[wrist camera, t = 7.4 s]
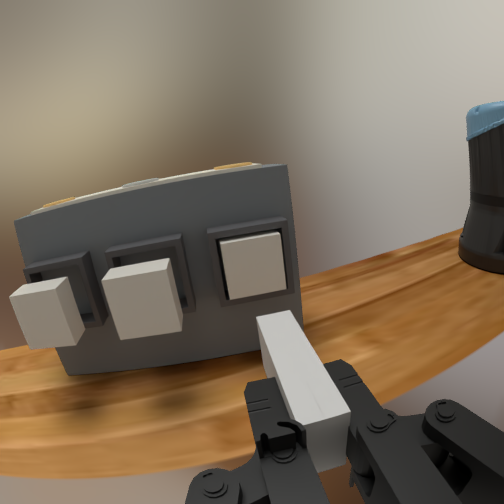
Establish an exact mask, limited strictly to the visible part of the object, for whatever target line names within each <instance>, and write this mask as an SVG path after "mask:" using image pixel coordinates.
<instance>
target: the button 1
mask: <svg viewBox="0 0 504 504" xmlns="http://www.w3.org/2000/svg"><path fill="white" fill-rule="evenodd" d="M9 298H10V301H11V303H12V306H13V309H14V312H15V314H16V317H17V319H18V322H19V324H20V327H21V329H22V331H23V334H24V336H25V338H26V341H27V343H28V345H29V348H30V349H42V348H53V347H64V346H74V345H77V343H78V341H79V339H80V338H81V336H82V334H83V332H84V331H85V327H84V324H83V322H82V319H81V316H80V313H79V310H78V307H77V305H76V302H75V299H74V296H73V292H72V289H71V286H70V283H69V280H68V277H62V278H57V279H52V280H47V281H41V282H36V283H31V284H26V285H23V286H21V287H20V288H19V289H18V290H17V291H15V292H14V293H13V294H12V295H11V296H10V297H9Z"/></svg>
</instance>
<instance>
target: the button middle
mask: <svg viewBox="0 0 504 504" xmlns="http://www.w3.org/2000/svg"><path fill="white" fill-rule="evenodd" d="M101 282H102V285H103V288H104V292H105V295H106V298H107V301H108V305H109V308H110V311H111V314H112V317H113V320H114V323H115V326H116V329H117V332H118V334H119V337H120V340H124V339H132V338H139V337H146V336H153V335H160V334H167V333H173V332H179V331H182V322H183V313H182V309H181V305H180V301H179V296H178V292H177V288H176V284H175V279H174V275H173V271H172V266H171V262H170V258H166V259H160V260H155V261H149V262H144V263H138V264H133V265H127V266H122V267H116V268H111V269H110V270H109V271H108V272H107V274H106V275H105V276H104V278H103V279H102V280H101Z"/></svg>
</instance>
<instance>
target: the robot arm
mask: <svg viewBox="0 0 504 504" xmlns="http://www.w3.org/2000/svg"><path fill="white" fill-rule="evenodd" d="M466 121H467V138H466V140H467V141H468V145H469V161H470V207H469V211H468V214H467V217H466V221H465V224H464V228H463V232H462V233H461V235H460V238H459V251H458V253H459V256H460V257H461V258H462V259H463V260H464V261H466V262H467V263H469V264H471V265H473V266H476V267H478V268H481V269H484V270H488V271H493V272H498V273H504V101H500V102H492V103H487V104H482V105H479V106H476V107H473V108H472V109H470V110H469V112H468V113H467V116H466ZM256 320H257V326H258V333H259V340H260V346H261V353H262V359H263V366H264V369H265V372H266V375H267V379H262V380H257V381H253V382H248V383H247V386H246V389H245V391H244V395H245V400H246V404H247V409H248V413H249V418H250V423H251V427H252V431H253V435H254V440H255V444H256V450H255V453H254V455H253V457H252V458H251V459H250V460H249V461H248V462H247V463H246V464H244V465H242V466H241V467H238V468H236V469H234V470H232V471H228V470H225V469H219V468H215V469H208V470H205V471H203V472H200V473H199V474H198V475H197V476H196V477H194V478H193V480H192V482H191V484H190V486H189V490H188V494H187V498H186V501H185V504H330V503H329V501H328V498H327V496H326V493H325V491H324V488H323V486H322V483H321V481H320V478H319V476H318V474H317V473H319V472H322V471H325V470H328V469H332V468H335V467H338V466H342V465H344V464H346V457H348V459H349V461H350V463H351V465H352V468H351V474H350V480H349V484H350V487H353V485H354V482H355V484H356V486H357V488H358V490H359V492H360V494H361V496H362V498H363V500H364V502H365V504H504V432H502V431H501V430H499V429H498V428H496V427H495V426H493V425H491V424H490V423H488V422H487V421H485V420H484V419H482V418H481V417H479V416H477V415H476V414H474V413H473V412H471V411H470V410H468V409H467V408H465V407H464V406H462V405H460V404H459V403H457V402H455V401H452V400H446V399H442V400H437V401H435V402H433V403H431V404H430V405H429V406H428V408H427V409H426V412H425V413H424V414H418V415H411V416H398V415H396V414H395V413H394V412H393V411H390V410H387V409H383V408H382V407H381V406H380V404H379V403H378V402H377V400H376V399H375V397H374V396H373V395H372V393H371V392H370V390H369V389H368V388H367V386H366V385H365V384H364V383H363V381H362V379H361V378H360V377H359V376H358V374H357V372H356V371H355V370H354V368H353V367H352V366H351V365H350V364H348V363H346V362H345V361H343V360H341V359H340V360H336V361H333V362H329V363H325V364H322V362H321V361H320V359H319V357H318V356H317V354H316V352H315V351H314V349H313V347H312V346H311V344H310V343H309V341H308V339H307V338H306V336H305V334H304V333H303V331H302V329H301V328H300V326H299V324H298V323H297V321H296V319H295V318H294V316H293V314H292V313H291V311H290V310H287V311H283V312H278V313H273V314H268V315H263V316H258V317H256Z"/></svg>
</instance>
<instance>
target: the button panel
mask: <svg viewBox="0 0 504 504" xmlns="http://www.w3.org/2000/svg"><path fill="white" fill-rule="evenodd" d="M14 225H15V228H16V233H17V237H18V241H19V245H20V248H21V252H22V256H23V260H24V263H25V266H26V268H24V269H23V271H24V275H25V278H26V281H27V284H31V283H36V282H41V281H47V280H52V279H57V278H62V277H68V280H69V283H70V286H71V289H72V292H73V296H74V299H75V302H76V305H77V307H78V310H79V313H80V316H81V319H82V322H83V324H84V327H85V331H84V332H83V334H82V336H81V338H80V339H79V341H78V343H77V345H74V346H64V347H55V348H56V351H57V353H58V355H59V357H60V360H61V362H62V364H63V366H64V368H65V370H66V372H67V374H68V375H80V374H93V373H105V372H115V371H125V370H134V369H143V368H151V367H159V366H166V365H173V364H180V363H187V362H193V361H200V360H206V359H212V358H218V357H223V356H229V355H234V354H240V353H245V352H250V351H255V350H260V349H261V346H260V340H259V333H258V326H257V320H256V317H258V316H263V315H268V314H273V313H278V312H283V311H287V310H290V311H291V313H292V314H293V316H294V318H295V319H296V321H297V323H298V324H299V326H300V328H301V329H302V331H303V333H304V329H303V315H302V303H301V291H300V280H299V269H298V258H297V248H296V238H295V229H294V220H293V211H292V202H291V193H290V185H289V176H288V169H287V165H284V164H269V165H261V164H252V162H247V163H239V164H232V165H225V166H220V167H215V168H214V169H213V170H207V171H201V172H195V173H189V174H184V175H178V176H173V177H168V178H163V179H158V178H153V179H148V180H143V181H138V182H134V183H129V184H125V185H122V187H120V188H116V189H111V190H107V191H103V192H98V193H94V194H90V195H86V196H82V197H78V198H75V197H71V198H67V199H63V200H59V201H56V202H53V203H49V204H46V205H43V208H40V209H38V210H35V211H32V212H31V214H30V215H28V216H25V217H22V218H20V219H17V220H15V221H14ZM270 229H275V230H277V231H278V232H279V233H280V236H281V245H282V253H283V262H284V271H285V281H286V289H284V290H279V291H274V292H269V293H264V294H258V295H253V296H248V297H243V298H237V299H232V300H230V297H229V293H228V289H227V283H226V277H225V272H224V266H223V260H222V254H221V249H220V243H219V238H223V237H229V236H235V235H241V234H246V233H252V232H258V231H264V230H270ZM166 258H170V262H171V266H172V271H173V275H174V279H175V284H176V288H177V292H178V296H179V301H180V305H181V309H182V313H183V322H182V331H179V332H173V333H167V334H160V335H153V336H146V337H139V338H132V339H124V340H120V337H119V334H118V332H117V329H116V326H115V323H114V320H113V317H112V314H111V311H110V308H109V305H108V301H107V298H106V295H105V292H104V288H103V285H102V282H101V280H102V279H103V278H104V276H105V275H106V274H107V272H108V271H109V270H110V269H111V268H116V267H122V266H127V265H133V264H138V263H144V262H149V261H155V260H160V259H166Z"/></svg>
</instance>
